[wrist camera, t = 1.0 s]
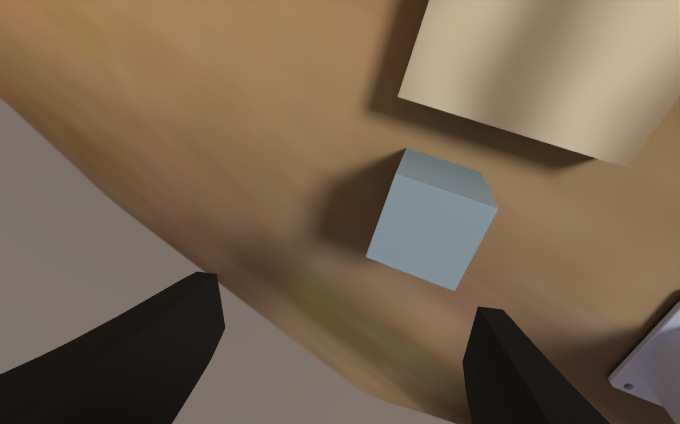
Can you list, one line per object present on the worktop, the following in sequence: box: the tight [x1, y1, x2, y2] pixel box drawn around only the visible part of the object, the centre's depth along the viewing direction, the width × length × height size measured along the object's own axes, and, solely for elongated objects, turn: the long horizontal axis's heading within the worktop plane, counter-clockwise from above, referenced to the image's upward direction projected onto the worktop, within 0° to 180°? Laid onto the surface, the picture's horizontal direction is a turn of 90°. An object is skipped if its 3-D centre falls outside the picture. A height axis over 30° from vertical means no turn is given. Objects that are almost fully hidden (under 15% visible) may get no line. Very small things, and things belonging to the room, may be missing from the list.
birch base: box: [398, 0, 680, 168], centre depth 14 cm, size 11×11×2 cm
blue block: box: [366, 148, 498, 291], centre depth 18 cm, size 4×4×6 cm
